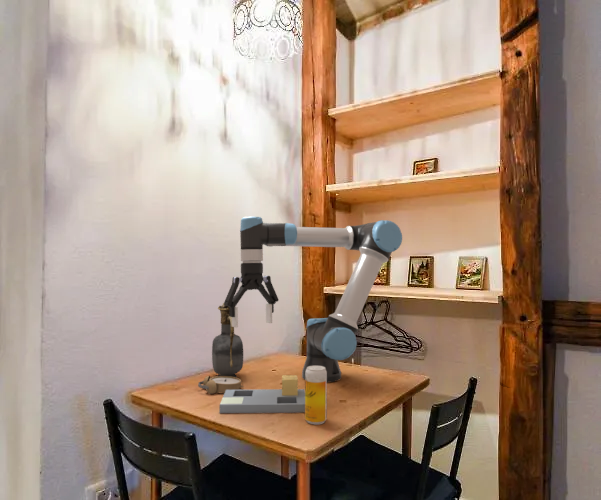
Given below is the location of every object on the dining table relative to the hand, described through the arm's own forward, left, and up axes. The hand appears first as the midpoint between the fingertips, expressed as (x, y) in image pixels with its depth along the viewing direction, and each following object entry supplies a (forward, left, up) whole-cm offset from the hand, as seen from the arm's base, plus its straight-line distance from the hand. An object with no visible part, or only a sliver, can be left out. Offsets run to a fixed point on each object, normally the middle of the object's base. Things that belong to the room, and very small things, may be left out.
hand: (252, 324), depth 144 cm
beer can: (-20, +25, -24) cm, 39 cm away
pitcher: (+10, -18, -24) cm, 32 cm away
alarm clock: (+11, -5, -24) cm, 27 cm away
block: (-13, +7, -21) cm, 25 cm away
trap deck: (-5, +10, -23) cm, 26 cm away
